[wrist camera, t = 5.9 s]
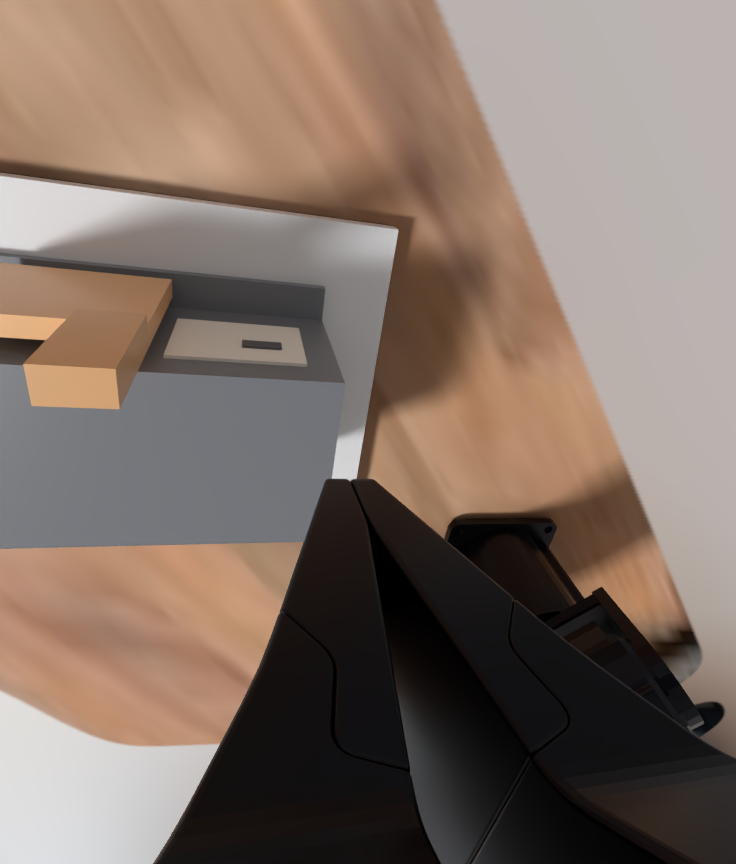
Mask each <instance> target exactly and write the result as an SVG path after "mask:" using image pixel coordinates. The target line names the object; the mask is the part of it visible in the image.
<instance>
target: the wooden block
mask: <svg viewBox="0 0 736 864" xmlns="http://www.w3.org/2000/svg"><path fill="white" fill-rule="evenodd" d="M172 297H173V296H172V279H163V278H153V277H143V276H133V275H123V274H112V273H102V272H92V271H82V270H72V269H61V268H51V267H41V266H31V265H21V264H11V263H0V337H5V338H20V339H35V340H46V341H45V342H44V343H43V344H42V345H41V346H40V347H39V348H38V349H37V350H36V351H35V352H34V353H33V354H32V355H31V356H30V357H29V358H28V359H27V360H26V361H25V362H24V363H23V366H24V371H25V376H26V381H27V386H28V391H29V396H30V401H31V406H44V407H70V408H97V409H120V408H121V406H122V403H123V401H124V399H125V397H126V395H127V393H128V391H129V389H130V386H131V384H132V382H133V380H134V378H135V376H136V374H137V372H138V369H139V367H140V365H141V363H142V361H143V359H144V357H145V355H146V352H147V350H148V348H149V346H150V344H151V342H152V340H153V338H154V335H155V333H156V331H157V329H158V327H159V325H160V323H161V320H162V318H163V316H164V314H165V312H166V310H167V308H168V306H169V303H170V301H171V299H172Z"/></svg>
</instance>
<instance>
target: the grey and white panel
mask: <svg viewBox="0 0 736 864" xmlns="http://www.w3.org/2000/svg"><path fill="white" fill-rule="evenodd" d="M398 231H399V230H398V229H397V228H395V227H394V226H388V225H381V224H374V223H366V222H359V221H352V220H344V219H337V218H330V217H322V216H315V215H308V214H301V213H293V212H286V211H279V210H271V209H264V208H257V207H249V206H242V205H235V204H227V203H220V202H213V201H205V200H198V199H191V198H183V197H176V196H169V195H161V194H154V193H147V192H139V191H132V190H125V189H117V188H110V187H103V186H95V185H88V184H81V183H73V182H66V181H59V180H51V179H44V178H37V177H29V176H22V175H15V174H7V173H0V263H11V264H21V265H31V266H41V267H51V268H61V269H72V270H82V271H92V272H102V273H112V274H123V275H133V276H143V277H153V278H163V279H172V296H173V297H172V299H171V301H170V303H169V306H168V308H167V310H166V312H165V314H164V316H163V318H162V320H161V323H160V325H159V327H158V329H157V331H156V333H155V335H154V338H153V340H152V342H151V344H150V346H149V348H148V350H147V352H146V355H145V357H144V359H143V361H142V363H141V365H140V367H139V369H138V372H137V374H136V376H135V378H134V380H133V382H132V384H131V386H130V389H129V391H128V393H127V395H126V397H125V399H124V401H123V403H122V406H121V408H120V409H97V408H70V407H44V406H31V401H30V396H29V391H28V386H27V381H26V376H25V371H24V366H23V363H24V362H25V361H26V360H27V359H28V358H29V357H30V356H31V355H32V354H33V353H34V352H35V351H36V350H37V349H38V348H39V347H40V346H41V345H42V344H43V343H44V342H45V341H46V340H35V339H20V338H5V337H0V549H11V548H54V547H97V546H140V545H183V544H226V543H269V542H304V540H305V537H306V534H307V531H308V529H309V526H310V523H311V520H312V517H313V514H314V511H315V508H316V505H317V502H318V500H319V497H320V494H321V491H322V488H323V485H324V482H325V480H326V479H348V480H349V481H351V480H352V479H357V473H358V467H359V461H360V455H361V449H362V443H363V437H364V431H365V425H366V420H367V414H368V408H369V402H370V396H371V390H372V384H373V378H374V372H375V366H376V361H377V355H378V349H379V343H380V337H381V331H382V325H383V319H384V313H385V307H386V301H387V296H388V290H389V284H390V278H391V272H392V266H393V260H394V254H395V248H396V242H397V237H398Z"/></svg>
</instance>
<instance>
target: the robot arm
mask: <svg viewBox="0 0 736 864" xmlns="http://www.w3.org/2000/svg"><path fill="white" fill-rule="evenodd" d="M458 528H460V529H458ZM556 528H557V527H556V524H555V523H554V522H553V520H551V519H548V518H541V519H466V520H455V521H453V522H451V523H450V524H449V526H448V529H447V532H446V535H445V539H444V538H442V537H441V536H440V535H439V534H438V533H436V532H435V531H434V530H433V529H432V528H431V527H429V526H428V525H427V524H426V523H425V522H424V521H422V520H421V519H420V518H419V517H418V516H416V515H415V514H414V513H413V512H412V511H411V510H409V509H408V508H407V507H406V506H405V505H403V504H402V503H401V502H400V501H399V500H398V499H396V498H395V497H394V496H393V495H392V494H390V493H389V492H388V491H387V490H386V489H385V488H383V487H382V486H381V485H380V484H379V483H377V482H376V481H375V480H373V479H352V480H351V481H349V480H348V479H326V480H325V482H324V485H323V488H322V491H321V494H320V497H319V500H318V502H317V505H316V508H315V511H314V514H313V517H312V520H311V523H310V526H309V529H308V531H307V534H306V537H305V540H304V543H303V546H302V549H301V552H300V555H299V558H298V560H297V563H296V566H295V569H294V572H293V575H292V578H291V581H290V584H289V587H288V589H287V592H286V595H285V598H284V601H283V604H282V607H281V610H280V614H279V615H278V617H277V620H276V623H275V626H274V629H273V632H272V635H271V638H270V640H269V643H268V645H267V648H266V650H265V653H264V655H263V658H262V661H261V663H260V666H259V668H258V670H257V672H256V674H255V676H254V678H253V680H252V682H251V685H250V687H249V689H248V691H247V693H246V695H245V697H244V699H243V701H242V703H241V705H240V707H239V709H238V711H237V713H236V715H235V717H234V719H233V721H232V723H231V724H230V726H229V728H228V730H227V732H226V734H225V736H224V738H223V740H222V742H221V743H220V745H219V747H218V749H217V751H216V753H215V755H214V757H213V759H212V761H211V763H210V764H209V766H208V768H207V770H206V772H205V774H204V776H203V778H202V780H201V781H200V784H199V786H198V787H197V789H196V791H195V793H194V795H193V797H192V799H191V801H190V802H189V804H188V806H187V808H186V810H185V812H184V813H183V815H182V817H181V818H180V820H179V822H178V824H177V825H176V827H175V829H174V831H173V832H172V834H171V836H170V838H169V839H168V841H167V843H166V844H165V846H164V847H163V849H162V851H161V852H160V854H159V855H158V857H157V858H156V860H155V862H154V863H153V864H736V758H734V757H731V756H730V755H727V754H725V753H724V752H722V751H720V750H718V749H717V748H715V747H713V746H711V745H710V744H708V743H706V742H705V741H703V740H702V739H701V738H699V737H698V736H696V735H695V734H693V733H692V732H690V730H692V729H694V728H696V727H698V726H700V725H702V724H704V722H703V719H702V717H701V716H700V714H699V712H698V711H697V709H696V707H695V706H694V704H693V703H692V701H691V700H690V698H689V697H688V695H687V694H686V692H685V691H684V689H683V688H682V686H681V685H680V683H679V682H678V681H677V679H676V678H675V676H674V675H673V674H672V672H671V671H670V670H669V668H668V667H667V666H666V664H665V663H664V661H663V660H662V659H661V658H660V656H659V655H658V654H657V652H656V651H655V650H654V649H653V647H652V646H651V645H650V644H649V642H648V641H647V640H646V639H645V638H644V637H643V635H642V634H641V633H640V632H639V631H638V629H637V628H636V627H635V626H634V625H633V623H632V622H631V621H630V620H629V619H628V617H627V616H626V615H625V614H624V613H623V611H622V610H621V609H620V608H619V607H618V606H617V604H616V603H615V602H614V601H613V600H612V598H611V597H610V596H609V595H608V594H607V592H606V591H605V590H604V589H603V588H602V587H600V588H598V589H597V590H595V591H593V592H592V595H590V596H588V597H587V598H585V599H584V597H583V596H582V595H581V593H580V592H579V590H578V589H577V587H576V586H575V585H574V583H573V582H572V580H571V579H570V578H569V576H568V575H567V573H566V572H565V571H564V569H563V568H562V566H561V565H560V563H559V562H558V561H557V559H556V558H555V556H554V555H553V554H552V552H551V551H550V549H549V548H548V547H549V545H550V543H551V540H552V538H553V536H554V533H555V531H556ZM456 529H458V530H456Z"/></svg>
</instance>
